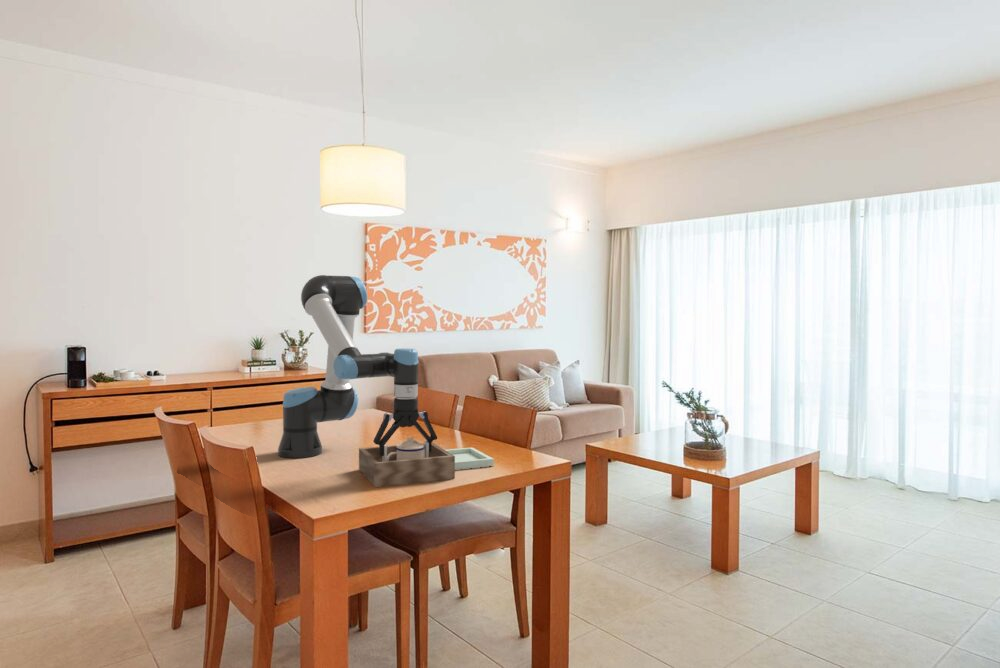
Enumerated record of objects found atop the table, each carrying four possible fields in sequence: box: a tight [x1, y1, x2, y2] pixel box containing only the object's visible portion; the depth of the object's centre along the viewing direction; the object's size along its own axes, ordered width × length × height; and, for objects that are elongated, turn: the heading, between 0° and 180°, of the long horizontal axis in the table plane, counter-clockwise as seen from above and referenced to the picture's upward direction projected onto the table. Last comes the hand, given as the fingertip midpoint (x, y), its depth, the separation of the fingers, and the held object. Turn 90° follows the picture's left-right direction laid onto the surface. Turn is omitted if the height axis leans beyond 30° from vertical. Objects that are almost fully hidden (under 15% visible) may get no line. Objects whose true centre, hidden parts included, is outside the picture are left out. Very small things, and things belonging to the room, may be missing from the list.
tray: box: [444, 446, 495, 471], centre depth 218 cm, size 16×19×2 cm
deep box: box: [358, 442, 456, 488], centre depth 201 cm, size 25×22×7 cm
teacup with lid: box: [387, 436, 425, 461], centre depth 201 cm, size 12×9×12 cm
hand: (405, 464), depth 201 cm, fingers open, 13 cm apart
